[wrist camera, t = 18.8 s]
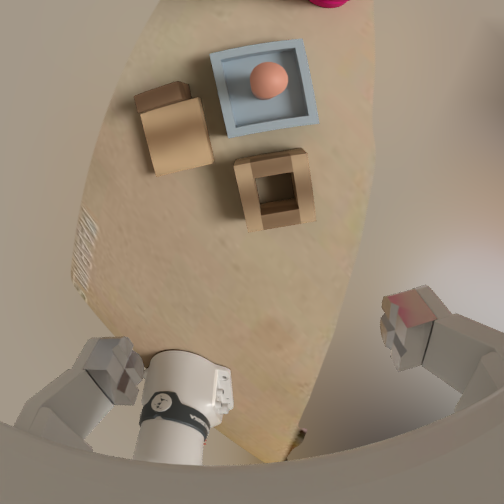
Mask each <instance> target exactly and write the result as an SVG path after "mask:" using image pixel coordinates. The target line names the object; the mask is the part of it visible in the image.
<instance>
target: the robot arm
mask: <svg viewBox="0 0 504 504" xmlns="http://www.w3.org/2000/svg"><path fill="white" fill-rule="evenodd" d="M382 309H383V311H384V312H385V313H384V315H383V316H382V317H381V320H380V330H381V336H382V339H383V342H384V344H385V346H386V347H387V348H389V349H391V350H392V351H391V356H390V357H391V359H392V361H393V363H394V365H395V367H396V370H397V371H398V372H400V371H404V370H407V369H410V368H413V367H417V366H420V365H422V367H424V368H425V369H427V370H428V371H430V372H431V373H432V374H434V375H435V376H437V377H438V378H440V379H441V380H443V381H444V382H446V383H447V384H448V385H450V386H451V387H453V388H454V389H455V390H457V391H458V392H460V393H461V394H463V395H462V396H461V398H460V400H459V402H458V403H457V405H456V407H455V409H454V411H455V413H453V414H451V415H449V416H447V417H445V418H442V419H440V420H438V421H436V422H433V423H431V424H428V425H426V426H423V427H421V428H418V429H415V430H413V431H410V432H407V433H404V434H402V435H399V436H396V437H393V438H390V439H386V440H383V441H380V442H376V443H373V444H369V445H366V446H362V447H359V448H355V449H350V450H346V451H342V452H337V453H332V454H328V455H322V456H317V457H311V458H305V459H298V460H291V461H283V462H274V463H263V464H249V465H221V466H209V465H205V466H204V465H202V454H203V445H205V443H204V441H206V438H207V436H208V434H209V430H210V428H211V427H214V426H217V425H219V424H220V423H221V421H222V415H223V414H228V411H229V410H231V409H233V406H234V401H233V391H232V380H231V371H230V369H228V368H226V367H223V366H220V365H216V364H214V363H212V362H210V361H208V360H207V359H205V358H203V357H201V356H199V355H196V354H193V353H190V352H185V351H174V350H173V351H164V352H161V353H158V354H156V355H155V356H154V357H153V358H152V359H151V361H150V365H149V367H148V368H147V369H146V370H144V364H143V361H142V359H141V357H140V355H139V354H138V353H136V352H135V351H133V350H132V349H133V344H132V342H131V341H130V339H129V338H128V337H125V336H124V337H102V338H101V337H100V338H91V339H89V340H88V341H87V343H86V344H85V346H84V348H83V350H82V351H81V353H80V355H79V357H78V358H77V360H76V362H75V364H74V365H73V367H72V369H68V370H67V371H65V372H64V373H63V374H61V375H60V376H59V377H57V378H56V379H55V380H54V381H52V382H51V383H50V384H48V385H47V386H46V387H44V388H43V389H42V390H41V391H39V392H38V393H37V394H36V395H34V396H33V397H32V398H30V399H29V400H28V401H27V402H26V403H25V405H24V407H23V409H22V411H21V413H20V415H19V416H18V418H17V421H16V423H15V425H14V426H13V427H12V426H10V425H8V424H6V423H3V422H1V421H0V504H504V333H503V332H500V331H498V330H495V329H493V328H490V327H488V326H486V325H483V324H481V323H479V322H476V321H474V320H471V319H469V318H467V317H464V316H462V315H459V314H453V315H452V313H451V312H450V311H449V310H448V308H447V307H446V306H445V305H444V303H443V302H442V301H441V300H440V299H439V297H438V296H437V295H436V294H435V293H434V292H433V290H431V288H430V287H429V286H427V285H423V286H420V287H416V288H413V289H411V290H407V291H404V292H399V293H395V294H392V295H388V296H384V297H383V300H382ZM143 378H144V379H145V384H144V389H143V395H142V400H141V403H142V405H143V409H142V412H141V414H140V422H139V425H140V431H139V435H138V439H137V443H136V446H135V451H134V455H133V460H132V459H126V458H120V457H114V456H108V455H104V454H99V453H95V452H93V449H92V447H91V446H90V445H89V444H88V443H86V442H85V441H84V439H85V438H86V437H87V436H88V435H89V433H90V432H91V431H92V430H93V429H94V428H95V427H96V426H97V424H98V423H99V422H100V421H101V420H102V419H103V418H104V417H105V416H106V414H107V413H108V412H109V411H110V410H111V409H112V408H113V407H114V405H134V404H135V401H136V397H137V394H138V391H139V390H138V387H137V385H138V384H139V383H140V382H141V381H142V379H143Z"/></svg>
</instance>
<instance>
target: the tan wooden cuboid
mask: <svg viewBox="0 0 504 504" xmlns="http://www.w3.org/2000/svg"><path fill="white" fill-rule="evenodd" d="M140 116H141V120H142V124H143V128H144V132H145V136H146V140H147V144H148V148H149V152H150V156H151V159H152V163H153V167H154V170H155V174H156V177H158V176H162V175H166V174H170V173H174V172H178V171H182V170H187V169H191V168H195V167H200V166H204V165H209V164H212V163H213V162H214V161H215V160H214V156H213V151H212V147H211V142H210V138H209V133H208V129H207V124H206V120H205V115H204V111H203V106H202V102H201V98H198V97H197V98H193V99H189V100H185V101H182V102H178V103H175V104H171V105H168V106H165V107H161V108H158V109H155V110H152V111H149V112H146V113H143V114H140Z"/></svg>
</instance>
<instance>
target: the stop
mask: <svg viewBox="0 0 504 504" xmlns="http://www.w3.org/2000/svg"><path fill="white" fill-rule="evenodd" d="M134 99H135V103H136V107H137V112H138V113H141V112H149V111H152V110H155V109H158V108H161V107H165V106H168V105H171V104H175V103H178V102H182V101H185V100H189V99H192V98H191V93H190V89H189V84H185V83H182V82H179V81H176V82H173V83H170V84H167V85H164V86H161V87H158V88H155V89H152V90H149V91H146V92H143V93H141V94H138V95H135V96H134Z"/></svg>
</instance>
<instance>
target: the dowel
mask: <svg viewBox="0 0 504 504" xmlns="http://www.w3.org/2000/svg"><path fill="white" fill-rule="evenodd" d="M287 84H288V75H287V73H286V71H285V69H284V68H283V67H282V66H280V65H279V64H277V63H273V62H264V63H261V64H259V65H257V66H256V67H255V68H254V69H253V70H252V72H251V74H250V85H251V91H252V93H253V95H254V96H255V97H256V98H258V99H261V100H269V99H271V98H273V97H275V96H277V95H279V94H280V93H282V92H283V91H284V90H285V88H286V87H287Z"/></svg>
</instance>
